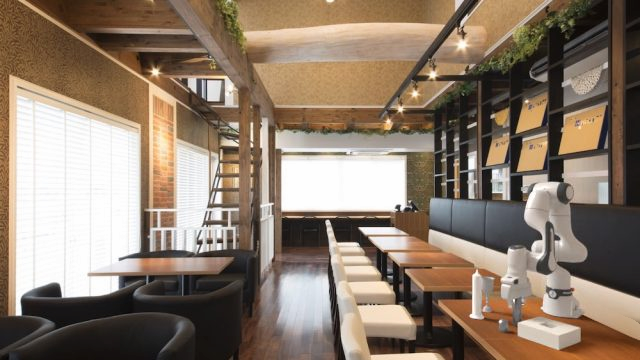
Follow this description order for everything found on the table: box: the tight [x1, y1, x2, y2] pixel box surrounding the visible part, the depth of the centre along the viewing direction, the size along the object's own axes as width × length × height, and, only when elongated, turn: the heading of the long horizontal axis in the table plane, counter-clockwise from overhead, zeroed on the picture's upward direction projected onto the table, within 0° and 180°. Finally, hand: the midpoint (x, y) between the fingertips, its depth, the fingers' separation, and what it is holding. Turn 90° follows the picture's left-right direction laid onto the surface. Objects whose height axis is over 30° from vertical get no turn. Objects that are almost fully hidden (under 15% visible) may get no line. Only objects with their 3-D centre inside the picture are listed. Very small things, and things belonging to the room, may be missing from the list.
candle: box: [469, 268, 485, 320], centre depth 206 cm, size 7×7×25 cm
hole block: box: [517, 315, 582, 351], centre depth 178 cm, size 18×18×6 cm
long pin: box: [512, 297, 523, 327], centre depth 196 cm, size 4×4×14 cm
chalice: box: [482, 276, 495, 313], centre depth 217 cm, size 7×7×18 cm
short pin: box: [498, 318, 509, 334], centre depth 187 cm, size 4×4×5 cm
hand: (516, 306), depth 195 cm, fingers open, 8 cm apart
